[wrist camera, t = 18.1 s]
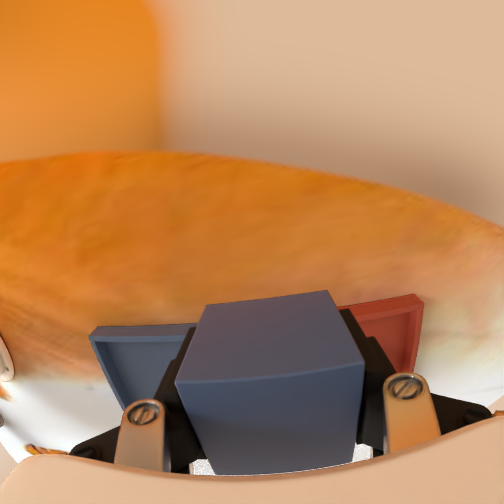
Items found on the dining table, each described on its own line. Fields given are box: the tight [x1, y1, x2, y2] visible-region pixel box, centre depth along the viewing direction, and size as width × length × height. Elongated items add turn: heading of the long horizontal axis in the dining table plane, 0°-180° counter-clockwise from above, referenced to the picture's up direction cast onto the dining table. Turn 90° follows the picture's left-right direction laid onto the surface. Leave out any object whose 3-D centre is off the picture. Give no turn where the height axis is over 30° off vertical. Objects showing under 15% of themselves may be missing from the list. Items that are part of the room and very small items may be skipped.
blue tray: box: [88, 323, 198, 411], centre depth 25 cm, size 14×12×2 cm
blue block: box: [175, 290, 365, 475], centre depth 9 cm, size 4×4×4 cm
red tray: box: [337, 294, 424, 373], centre depth 23 cm, size 14×12×2 cm
